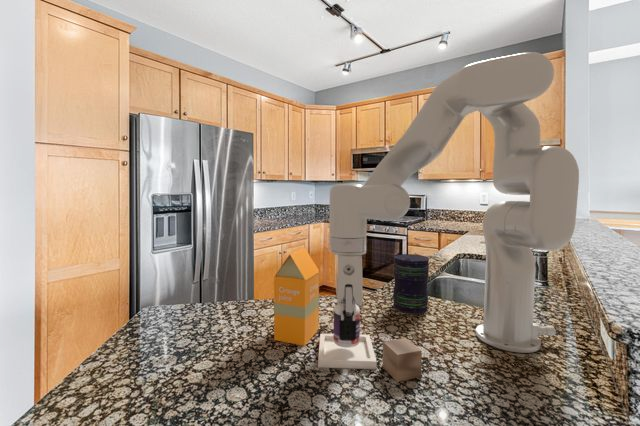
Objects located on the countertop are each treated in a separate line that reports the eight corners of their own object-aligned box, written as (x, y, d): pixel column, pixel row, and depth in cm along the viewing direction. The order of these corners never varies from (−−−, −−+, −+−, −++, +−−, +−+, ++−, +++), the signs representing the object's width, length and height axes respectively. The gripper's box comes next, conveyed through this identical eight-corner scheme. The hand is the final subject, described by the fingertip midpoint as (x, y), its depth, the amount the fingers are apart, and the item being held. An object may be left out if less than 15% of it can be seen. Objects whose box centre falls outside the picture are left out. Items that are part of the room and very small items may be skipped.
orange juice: (273, 340, 68) (273, 252, 67) (290, 324, 77) (290, 246, 76) (305, 346, 66) (305, 254, 65) (319, 329, 74) (320, 248, 73)
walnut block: (405, 362, 60) (405, 338, 59) (420, 377, 55) (421, 350, 55) (382, 367, 58) (382, 341, 58) (396, 382, 53) (397, 354, 53)
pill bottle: (358, 349, 60) (359, 301, 59) (331, 347, 61) (331, 299, 60) (360, 337, 65) (361, 292, 64) (335, 334, 66) (335, 290, 65)
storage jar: (400, 299, 96) (401, 252, 95) (432, 306, 90) (433, 256, 89) (387, 309, 88) (388, 257, 87) (421, 317, 82) (423, 262, 81)
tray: (369, 341, 68) (369, 334, 68) (376, 369, 57) (376, 361, 57) (320, 340, 69) (320, 333, 68) (318, 367, 58) (318, 359, 57)
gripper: (371, 253, 53) (370, 354, 54) (362, 239, 70) (361, 316, 71) (328, 252, 53) (328, 353, 54) (329, 239, 70) (329, 315, 71)
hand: (346, 331), depth 63 cm, fingers closed on pill bottle, 5 cm apart
